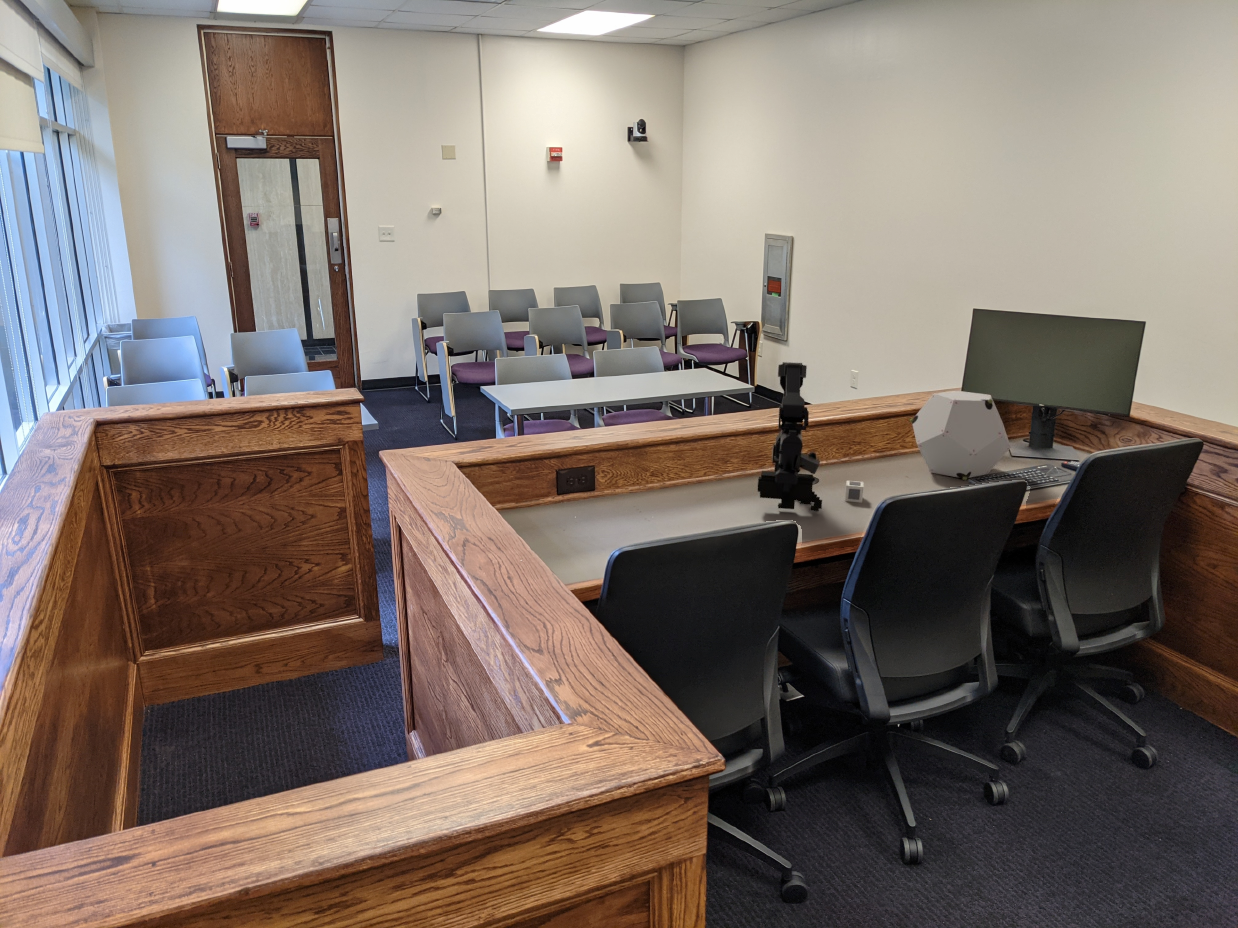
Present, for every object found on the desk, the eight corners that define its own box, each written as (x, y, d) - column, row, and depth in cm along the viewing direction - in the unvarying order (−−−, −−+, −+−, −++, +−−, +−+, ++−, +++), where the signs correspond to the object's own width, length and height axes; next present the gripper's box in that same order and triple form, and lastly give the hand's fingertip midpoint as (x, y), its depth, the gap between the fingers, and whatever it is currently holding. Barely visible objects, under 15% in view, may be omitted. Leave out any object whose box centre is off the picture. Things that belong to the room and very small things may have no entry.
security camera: (821, 514, 250) (824, 481, 247) (756, 509, 254) (758, 476, 251) (821, 506, 256) (823, 473, 253) (757, 501, 260) (759, 469, 257)
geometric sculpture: (967, 507, 281) (932, 432, 271) (916, 481, 309) (882, 412, 299) (1042, 456, 283) (1010, 379, 272) (984, 435, 311) (953, 364, 301)
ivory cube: (844, 501, 265) (846, 485, 263) (845, 495, 270) (846, 480, 268) (862, 502, 264) (863, 486, 262) (862, 497, 268) (863, 481, 267)
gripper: (817, 457, 239) (813, 510, 244) (820, 439, 256) (816, 489, 261) (776, 453, 242) (773, 506, 246) (782, 436, 259) (779, 486, 264)
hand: (786, 497), depth 254 cm, fingers closed on security camera, 7 cm apart
